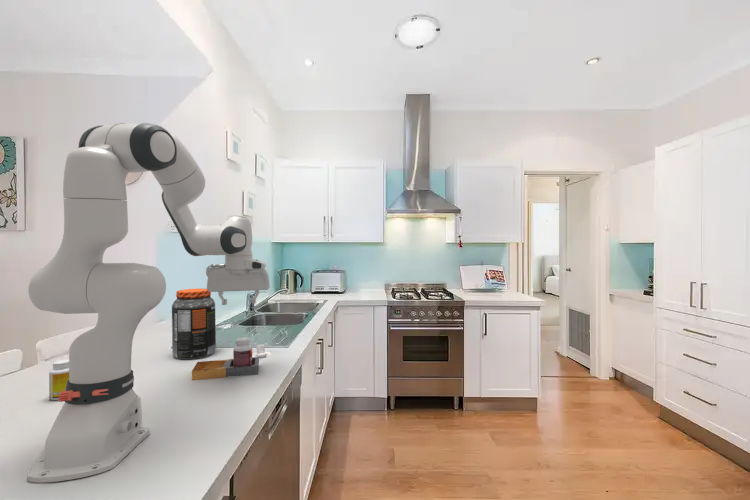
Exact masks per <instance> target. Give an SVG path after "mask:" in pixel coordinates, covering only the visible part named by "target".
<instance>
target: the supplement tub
mask: <svg viewBox="0 0 750 500" xmlns="http://www.w3.org/2000/svg"><path fill="white" fill-rule="evenodd" d="M211 295H212V292H209V291H208V290H207V288H188V289H187V288H186V289H180V290H177V291H176V295H175V296H176V299H175V300H174V301H173V302H172V305H171V328H172V329H171V334H172V335H171V338H172V339H171V341H172V344H171V345H172V348H171V349H172V350H171V351H172V356H173V357H174V358H175V359H179V360H194V359H200V358H206V357H208V356H210V355H212V354H214V352H216V349H217V348H216V347H217V344H216V342H217V339H216V336H217V335H216V334H217V333H216V330H217V329H216V301H215V299H214V298H213V297H211Z"/></svg>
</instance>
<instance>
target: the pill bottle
mask: <svg viewBox="0 0 750 500" xmlns="http://www.w3.org/2000/svg"><path fill="white" fill-rule="evenodd" d="M232 353H233V354H232V356H233V358H232V359H233V367H235V366H247V365H252V358H253V357H252V354H253V345H251V338H249V337H240V338H236V339H235V346H234V347H233V351H232Z"/></svg>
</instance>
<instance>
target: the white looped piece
mask: <svg viewBox="0 0 750 500" xmlns="http://www.w3.org/2000/svg"><path fill="white" fill-rule="evenodd" d="M255 347H256V352H252V358H254V357H259V359H260V358H266V357H269V356H271V355H272V353H271V352H269V351H265V344H257V345H256V346H255Z"/></svg>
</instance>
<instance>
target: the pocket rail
mask: <svg viewBox="0 0 750 500" xmlns="http://www.w3.org/2000/svg"><path fill="white" fill-rule="evenodd" d="M259 369H260V358H259V357H257V356H255V357H252V365H247V366H235V367H233V358H229V359H218V360H216V359H215V360H202V361H197V362H196V364H195V365H194V367H193V368H192V370H191V381H200V380H211V379H222V378H234V377H235V378H236V377H246V376H257V375H259Z"/></svg>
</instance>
